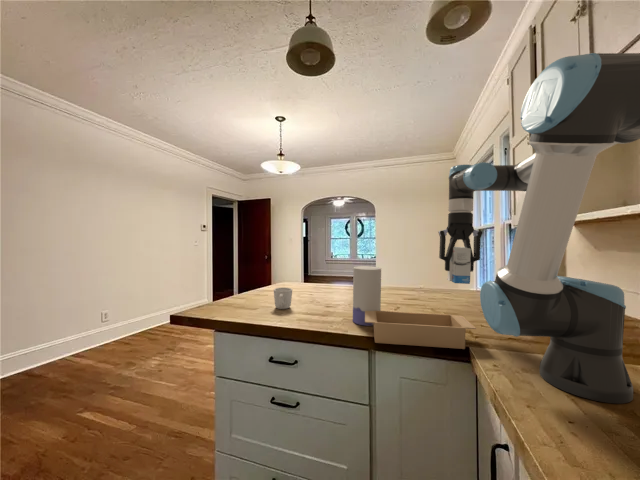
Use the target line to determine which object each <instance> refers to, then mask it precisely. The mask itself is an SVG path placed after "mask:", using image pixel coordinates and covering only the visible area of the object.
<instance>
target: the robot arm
mask: <svg viewBox="0 0 640 480" xmlns="http://www.w3.org/2000/svg"><path fill="white" fill-rule="evenodd" d="M519 119H520V120H521V122H520V124H521V127H522V129H523V130H524V131H525V132H527V133H528V134H530V135H529V136H530V137H529V140H528V144H529V145H530V146H531V147H532V149H533V150H534V153H532V154H531V155H528V157H526V158H524V159H523V160H522V161H520V162H518V163H517V164H511V165H510V164H507V165H506V164H505V165H504V164H503V165H501V164H498V165H493V164H491V163H489V162H485V161H482V162H478V163H475V164H457V165H454V166H451V167H450V169H449V173H448V174H449V175H448V209H447V210H448V212H449V213H448V214H447V217H448V218H447V227H446V228H445V229H441V230H438V231H437V232H438V235H439V256H438V258H439V259H440V260H441V261H442V260H443V261H444V270H445V271H446V272H447V279H446V280H447V281H448V282H452V266H453V262H451V261H450V260H451V256H452V253H453V247H456V243H457V242H458V241H459V240H461V241H462V243H463V247H465V248H470V249H471V255H470V273H471V272H472V273H473V272H474V267H475V266H474V263H475V262H478V261H480V260H481V237H482V235H483V231H481V230H477V229H475V228H474V225H473V224H474V223H473V221H474V213H473V211H474V194H475V193H474V192H481V191H483V192H484V191H485V192H488V191H489V192H493V191H495V192H497V191H500V192H501V191H503V192H507V191H508V192H515V191H516V192H525V194H524V199H523V203H522V207H521V210H520V213H519V218H518V222H517V224H516V225H517V226H516V230H515V234H514V237H513V241H512V245H511V249H510V253H509V258H508V260H507V264H506V265H504V266H501V267H500V268H498V269H497V272H496V275H495V280H489V281H485V282H484V283H483V284H482V285H481V288H480V290H479V291H480V292H479V298H480V307H481V310H482V314H483V317H484V319H485V321H486V323H487V324H488V326H489V327H490V329H492V330H493V331H494V332H496V333H497V334H499V335H504V336H512V337H513V336H514V337H516V338H517V337H520V336H521V337H543V338H547V337H548V338H549V337H550V341H549V344H548V346H547V348H546V350H545V352H544V353H543V357H542V359H541V360H540V363H539V375H540V377H541V378H542V379H543V380H544V381H546V382H547V383H548V384H550V385H552V386H554V387H555V388H557V389H559V390H561V391H564V392H566V393H568V394H571V395H574V396H577V397H581V398H584V399H587V400H591V401H595V402H601V403H607V404H627V403H630V402H631V401H633V400H634V385H633V383H632V381H631V378H630V374H629V372H628V370H627V366H626V364H625V362H624V359H623V349H624V348H623V345H624V329H625V317H626V316H625V313H626V309H627V306H626V305H625V293H624V290H623V289H622V288H621V287H619V286H617V285H614V284H610V283H604V282H601V281H600V282H599V281H594V280H588V279H582V278H577V277H569V276H563V275H558V274H559V271H560V267H561V264H562V263H563V262H562V261H563V258H564V256H565V253H566V250H567V246H568V244H569V241H570V237H571V235H572V231H573V228H574V225H575V223H576V219H577V218H578V217H577V216H578V214H579V210H580V208H581V205H582V202H583V198H584V195H585V192H586V190H587V186H588V184H589V181H590V178H591V174H592V171H593V168H594V165H595V162H596V160H597V156H598V155H599V154H600V153H602V152H603V151H605V150H607V149H610V148H611V147H614V146H616V145H617V144H620V145H621V144H622V145H623V144H631V143H634V142H636V141H639V140H640V53H639V52H629V53H628V52H627V53H626V52H621V53H620V52H617V53H616V52H614V53H613V52H611V53H610V52H609V53H607V52H605V53H604V52H603V53H599V52H598V53H596V52H592V53H585V54H575V55H568V56H564V57H560V58H559V59H556V60H554V61H553V62H551V63H550V64H549V65H547V66H546V67H545V68H543V70H542V71H541V72H540V74H539V75H538V76H537V77H536V78H535V79H534V80H533V82H532V83H531V85H530V87H529V89H528V90H527V92H526V95H525V97H524V100H523V103H522V105H521V109H520V118H519ZM447 233H448V235H449V237H450V239H449V244H448V246H447V250H446V242H447V241H446V237H447ZM471 235H473V249H472V245H471V239H470V237H471Z"/></svg>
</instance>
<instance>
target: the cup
mask: <svg viewBox="0 0 640 480" xmlns="http://www.w3.org/2000/svg"><path fill="white" fill-rule="evenodd" d="M273 299H274V307H275V308H277V309H278V310H287V309H289V308H290V307H291V305H292V299H293V288H290V287H276V288H274V289H273Z"/></svg>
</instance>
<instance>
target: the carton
mask: <svg viewBox="0 0 640 480" xmlns="http://www.w3.org/2000/svg"><path fill="white" fill-rule="evenodd" d="M365 323H374V325H373V337H374V343H376V344H386V345H387V344H388V345H389V344H390V345H402V346H403V345H405V346H417V347H418V346H419V347H428V348H429V347H433V348H443V349H444V348H445V349H448V348H449V349H460V350H461V349H462V350H465V349H466V329H467V330H476V329H477V327H475V325H473V324H472V323H471V322H470V321H469V320H467V319H466V318H465V317H464V316H463V315H453V314H445V313H444V314H443V313H426V312H407V311H390V310H389V311H388V310H387V311H386V310H380V311H365Z"/></svg>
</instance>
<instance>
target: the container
mask: <svg viewBox="0 0 640 480" xmlns="http://www.w3.org/2000/svg"><path fill="white" fill-rule="evenodd" d="M352 268H353V275H352V276H353V278H352V279H353V281H352V283H353V284H352V288H353V289H352V322H353V323H354V324H356V325H360V326H365V327H368V326H370V327H374V323H365V311H382V310H381V304H382V301H381V299H382V296H381V295H382V268H381V267H379V266H371V265H357V266H354V267H352Z"/></svg>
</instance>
